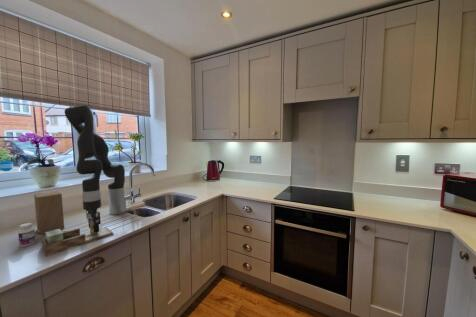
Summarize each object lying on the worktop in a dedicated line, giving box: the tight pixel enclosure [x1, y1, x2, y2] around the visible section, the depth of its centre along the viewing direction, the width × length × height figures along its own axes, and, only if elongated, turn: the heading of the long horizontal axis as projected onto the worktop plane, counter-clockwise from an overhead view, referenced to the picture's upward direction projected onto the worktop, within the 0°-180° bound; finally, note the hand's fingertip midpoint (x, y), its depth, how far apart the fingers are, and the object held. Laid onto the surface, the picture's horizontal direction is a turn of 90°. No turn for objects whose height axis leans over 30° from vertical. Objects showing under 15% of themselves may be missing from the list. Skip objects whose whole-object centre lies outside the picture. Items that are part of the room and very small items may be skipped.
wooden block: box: [33, 190, 65, 235], centre depth 112 cm, size 10×10×20 cm
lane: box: [40, 226, 114, 257], centre depth 100 cm, size 26×11×4 cm, turn 140°
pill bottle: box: [18, 222, 37, 248], centre depth 96 cm, size 5×5×10 cm
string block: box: [44, 220, 98, 244], centre depth 98 cm, size 19×7×7 cm, turn 140°
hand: (93, 229), depth 104 cm, fingers open, 8 cm apart
